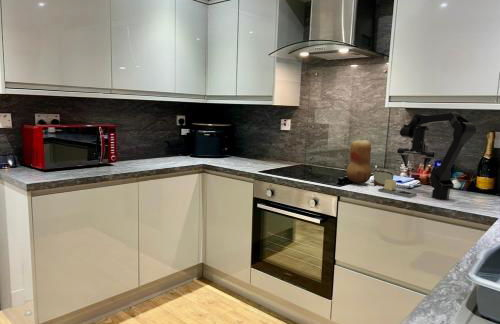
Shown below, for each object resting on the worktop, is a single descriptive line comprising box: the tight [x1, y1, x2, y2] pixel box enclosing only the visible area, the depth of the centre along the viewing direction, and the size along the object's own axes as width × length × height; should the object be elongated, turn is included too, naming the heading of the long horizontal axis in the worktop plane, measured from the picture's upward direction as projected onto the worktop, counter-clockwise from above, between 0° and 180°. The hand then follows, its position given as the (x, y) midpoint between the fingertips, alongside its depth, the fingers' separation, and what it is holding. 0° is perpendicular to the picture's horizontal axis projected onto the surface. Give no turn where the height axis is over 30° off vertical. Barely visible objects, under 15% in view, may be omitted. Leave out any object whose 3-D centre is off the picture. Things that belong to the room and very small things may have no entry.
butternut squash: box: [345, 139, 372, 185], centre depth 210 cm, size 14×13×25 cm
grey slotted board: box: [377, 187, 418, 199], centre depth 185 cm, size 16×8×2 cm, turn 44°
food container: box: [372, 167, 396, 188], centre depth 204 cm, size 12×6×10 cm, turn 41°
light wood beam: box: [383, 179, 397, 191], centre depth 188 cm, size 4×4×6 cm
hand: (415, 169), depth 193 cm, fingers open, 9 cm apart
